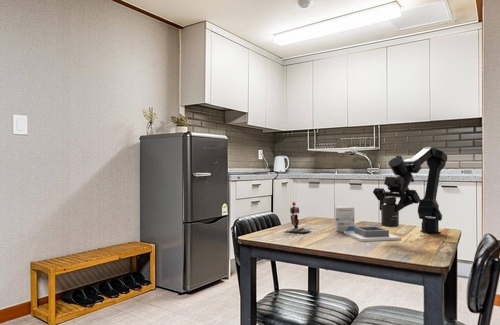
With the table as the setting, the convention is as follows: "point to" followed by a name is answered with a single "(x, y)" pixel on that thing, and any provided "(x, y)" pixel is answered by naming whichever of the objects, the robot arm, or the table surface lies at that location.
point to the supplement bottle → (389, 213)
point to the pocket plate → (371, 234)
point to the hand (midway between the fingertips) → (387, 210)
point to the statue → (296, 221)
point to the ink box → (344, 219)
